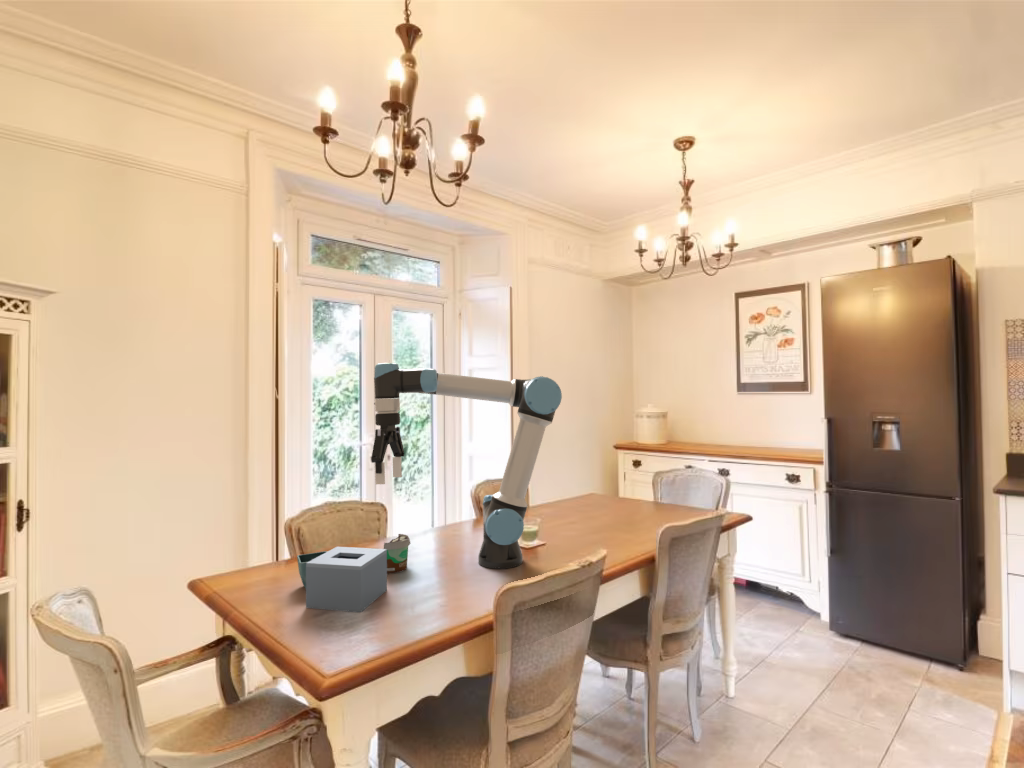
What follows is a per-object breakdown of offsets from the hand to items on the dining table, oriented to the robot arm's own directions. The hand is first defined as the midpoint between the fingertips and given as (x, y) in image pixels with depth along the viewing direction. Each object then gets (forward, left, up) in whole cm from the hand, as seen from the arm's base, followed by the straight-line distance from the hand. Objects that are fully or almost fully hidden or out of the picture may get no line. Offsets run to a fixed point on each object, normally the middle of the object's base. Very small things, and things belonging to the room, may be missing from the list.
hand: (389, 480), depth 165 cm
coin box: (+5, +17, -31) cm, 35 cm away
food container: (+1, -10, -31) cm, 32 cm away
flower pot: (+20, +10, -31) cm, 38 cm away
